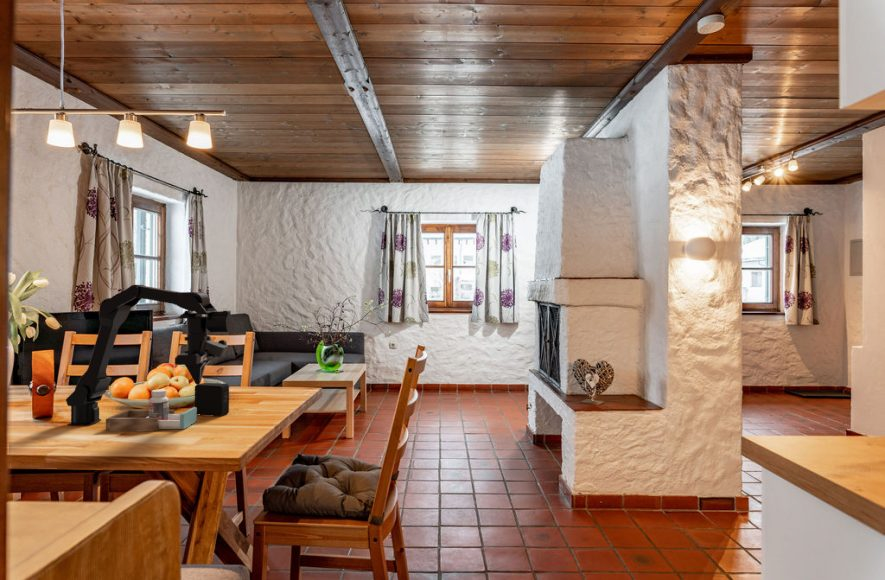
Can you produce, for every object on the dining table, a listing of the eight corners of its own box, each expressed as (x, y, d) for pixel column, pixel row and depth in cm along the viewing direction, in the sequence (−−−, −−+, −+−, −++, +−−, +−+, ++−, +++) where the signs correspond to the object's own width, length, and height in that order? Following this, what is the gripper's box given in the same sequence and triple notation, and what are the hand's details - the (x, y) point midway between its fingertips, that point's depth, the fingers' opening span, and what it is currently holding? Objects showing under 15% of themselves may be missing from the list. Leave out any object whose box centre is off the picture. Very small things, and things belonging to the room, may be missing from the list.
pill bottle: (145, 424, 163) (145, 392, 163) (154, 420, 169) (155, 388, 169) (162, 424, 163) (163, 392, 163) (172, 420, 169) (172, 388, 168)
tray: (138, 429, 161) (138, 414, 161) (153, 421, 170) (153, 407, 170) (184, 429, 162) (184, 414, 162) (196, 421, 171) (196, 407, 171)
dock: (105, 431, 159) (105, 418, 159) (127, 421, 171) (127, 409, 171) (156, 431, 160) (156, 418, 160) (174, 421, 172) (174, 409, 172)
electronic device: (221, 416, 178) (221, 386, 178) (194, 414, 180) (194, 384, 180) (229, 413, 182) (229, 383, 182) (202, 412, 184) (202, 382, 184)
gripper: (213, 335, 158) (213, 389, 158) (234, 330, 177) (234, 378, 177) (173, 336, 157) (174, 390, 157) (198, 330, 176) (199, 379, 176)
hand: (197, 384), depth 167 cm, fingers closed
